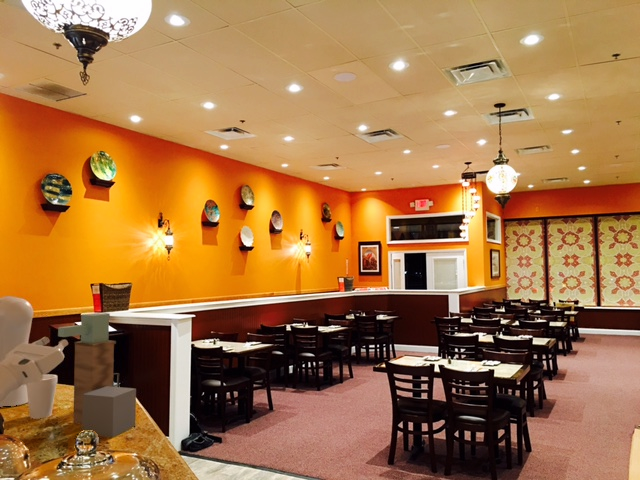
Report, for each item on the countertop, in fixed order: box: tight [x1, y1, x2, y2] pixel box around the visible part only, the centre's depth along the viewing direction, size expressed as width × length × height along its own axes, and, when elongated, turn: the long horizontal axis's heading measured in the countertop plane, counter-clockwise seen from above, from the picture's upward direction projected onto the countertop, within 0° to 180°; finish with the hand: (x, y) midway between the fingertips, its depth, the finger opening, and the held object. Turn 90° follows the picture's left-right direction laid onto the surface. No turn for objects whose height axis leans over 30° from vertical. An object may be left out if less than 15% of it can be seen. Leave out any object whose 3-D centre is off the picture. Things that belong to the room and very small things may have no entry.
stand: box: [72, 339, 117, 426], centre depth 174 cm, size 9×10×26 cm
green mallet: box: [57, 312, 111, 344], centre depth 171 cm, size 17×6×9 cm, turn 149°
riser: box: [81, 386, 137, 439], centre depth 165 cm, size 11×11×12 cm
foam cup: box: [26, 373, 58, 420], centre depth 179 cm, size 10×9×13 cm
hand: (56, 340), depth 162 cm, fingers open, 8 cm apart
